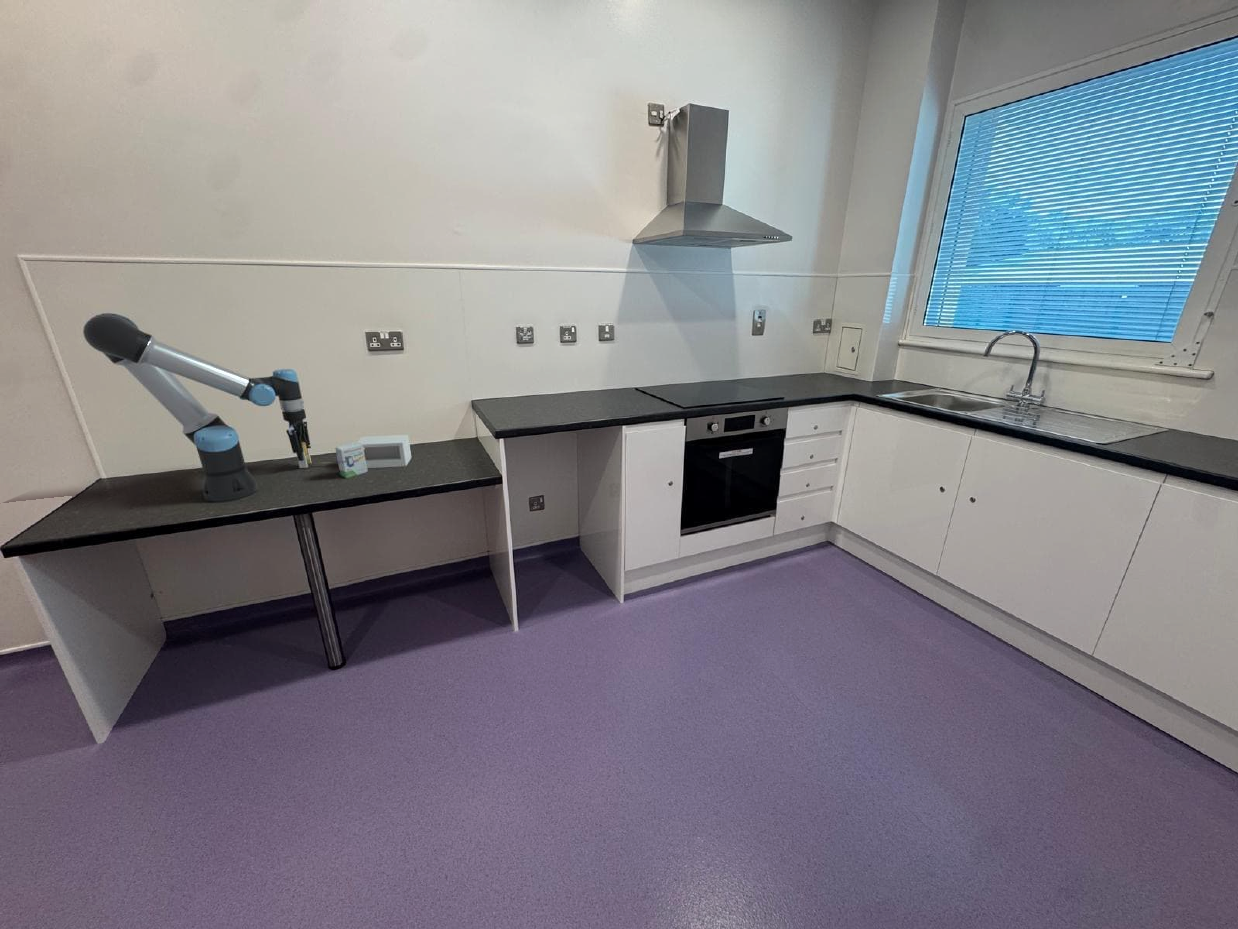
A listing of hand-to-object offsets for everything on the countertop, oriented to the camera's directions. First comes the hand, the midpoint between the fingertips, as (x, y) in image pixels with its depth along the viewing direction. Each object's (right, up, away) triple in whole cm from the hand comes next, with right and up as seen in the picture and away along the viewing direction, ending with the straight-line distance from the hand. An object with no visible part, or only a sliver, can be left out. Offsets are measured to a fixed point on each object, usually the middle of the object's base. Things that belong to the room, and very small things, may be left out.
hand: (305, 465), depth 200 cm
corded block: (+9, 0, +2) cm, 9 cm away
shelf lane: (+29, +1, +5) cm, 30 cm away
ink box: (+23, -3, -6) cm, 24 cm away
